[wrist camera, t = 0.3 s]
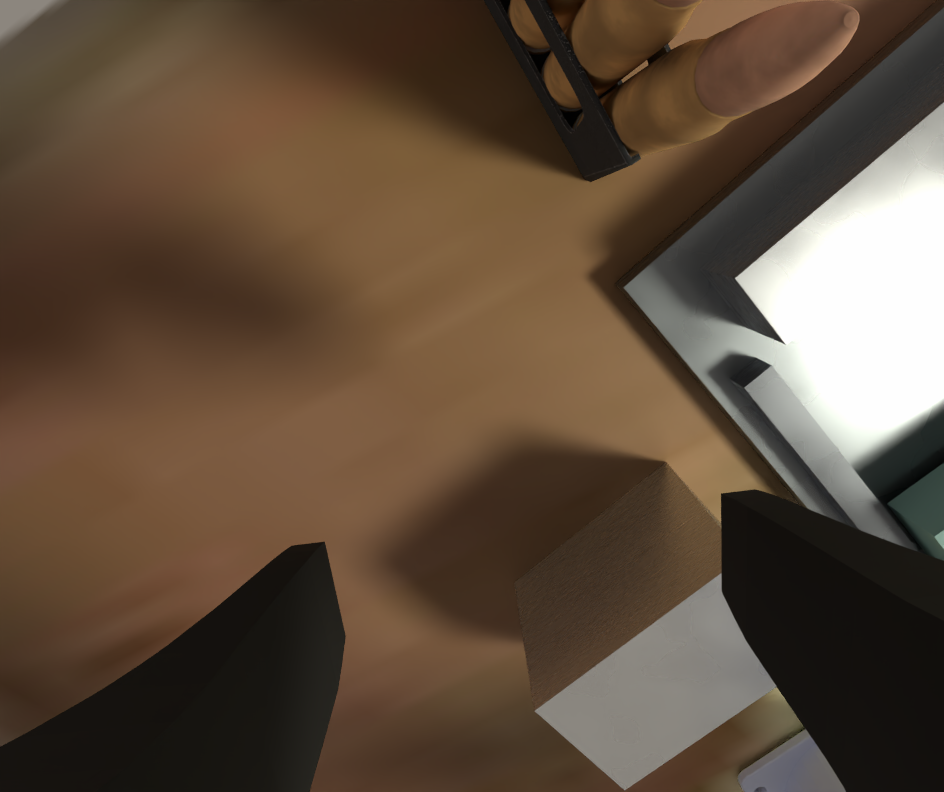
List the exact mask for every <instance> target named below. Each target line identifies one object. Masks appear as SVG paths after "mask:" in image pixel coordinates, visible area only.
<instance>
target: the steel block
mask: <svg viewBox="0 0 944 792" xmlns="http://www.w3.org/2000/svg"><path fill="white" fill-rule="evenodd" d="M514 585H515V591H516V598H517V604H518V610H519V617H520V623H521V629H522V636H523V642H524V648H525V654H526V661H527V667H528V673H529V680H530V686H531V692H532V698H533V705H534V711H535V712H536V713H537V714H538V715H540V716H541V717H542V718H543V719H544V720H545V721H546V722H548V723H549V724H550V725H551V726H552V727H553V728H554V729H556V730H557V731H558V732H559V733H560V734H561V735H562V736H563V737H565V738H566V739H567V740H568V741H569V742H570V743H571V744H573V745H574V746H575V747H576V748H577V749H578V750H579V751H581V752H582V753H583V754H584V755H585V756H586V757H587V758H588V759H590V760H591V761H592V762H593V763H594V764H595V765H596V766H598V767H599V768H600V769H601V770H602V771H603V772H604V773H605V774H607V775H608V776H609V777H610V778H611V779H612V780H613V781H615V782H616V783H617V784H618V785H619V786H620V787H621V788H623V789H624V790H626V789H628V788H629V787H630V786H632V785H633V784H635V783H636V782H638V781H639V780H641V779H642V778H644V777H645V776H647V775H648V774H650V773H651V772H652V771H654V770H655V769H657V768H658V767H660V766H661V765H663V764H664V763H666V762H667V761H669V760H670V759H672V758H673V757H674V756H676V755H677V754H679V753H680V752H682V751H683V750H685V749H686V748H688V747H689V746H691V745H692V744H694V743H695V742H696V741H698V740H699V739H701V738H702V737H704V736H705V735H707V734H708V733H710V732H711V731H713V730H714V729H716V728H717V727H718V726H720V725H721V724H723V723H724V722H726V721H727V720H729V719H730V718H732V717H733V716H735V715H736V714H738V713H739V712H740V711H742V710H743V709H745V708H746V707H748V706H749V705H751V704H752V703H754V702H755V701H757V700H758V699H760V698H761V697H762V696H764V695H765V694H767V693H768V692H770V691H771V690H773V689H774V688H776V687H777V686H776V685H775V683H774V682H773V681H772V679H771V678H770V676H769V675H768V673H767V672H766V670H765V669H764V667H763V666H762V664H761V663H760V661H759V660H758V658H757V657H756V655H755V654H754V652H753V651H752V649H751V648H750V646H749V645H748V643H747V641H746V640H745V638H744V636H743V634H742V632H741V630H740V628H739V626H738V624H737V622H736V620H735V619H734V616H733V614H732V612H731V610H730V608H729V606H728V604H727V602H726V600H725V598H724V596H723V593H722V579H721V523H720V521H719V520H718V519H717V518H716V517H715V516H714V515H713V514H712V513H711V511H710V510H709V509H708V508H707V507H706V506H705V505H704V504H703V502H702V501H701V500H700V499H699V498H698V497H697V496H696V495H695V494H694V492H693V491H692V490H691V489H690V488H689V487H688V486H687V485H686V483H685V482H684V481H683V480H682V479H681V478H680V477H679V476H678V474H677V473H676V472H675V471H674V470H673V469H672V468H671V467H670V466H669V464H668V463H667V462H665V463H664V464H663V465H661V466H660V467H659V468H658V469H656V470H655V471H654V472H653V473H651V474H650V475H649V476H648V477H646V478H645V479H644V480H643V481H641V482H640V483H639V484H638V485H636V486H635V487H634V488H633V489H631V490H630V491H629V492H627V493H626V494H625V495H624V496H622V497H621V498H620V499H619V500H617V501H616V502H615V503H614V504H612V505H611V506H610V507H609V508H607V509H606V510H605V511H604V512H602V513H601V514H600V515H599V516H597V517H596V518H595V519H593V520H592V521H591V522H590V523H588V524H587V525H586V526H585V527H583V528H582V529H581V530H580V531H578V532H577V533H576V534H575V535H573V536H572V537H571V538H570V539H568V540H567V541H566V542H565V543H563V544H562V545H561V546H560V547H558V548H557V549H556V550H554V551H553V552H552V553H551V554H549V555H548V556H547V557H546V558H544V559H543V560H542V561H541V562H539V563H538V564H537V565H536V566H534V567H533V568H532V569H531V570H529V571H528V572H527V573H526V574H524V575H523V576H522V577H521V578H519V579H518V580H517V581H515V582H514Z"/></svg>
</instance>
